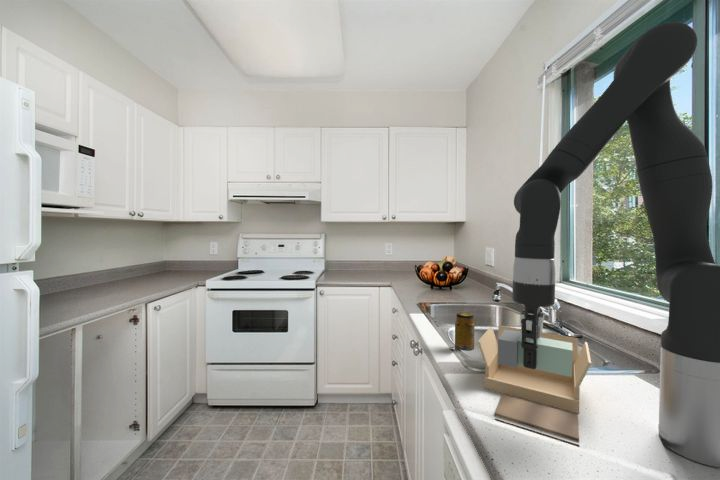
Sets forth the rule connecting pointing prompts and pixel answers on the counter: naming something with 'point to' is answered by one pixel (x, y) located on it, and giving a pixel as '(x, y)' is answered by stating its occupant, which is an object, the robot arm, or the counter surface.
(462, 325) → the condiment
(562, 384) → the carton
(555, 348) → the box
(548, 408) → the board
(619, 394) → the counter surface
